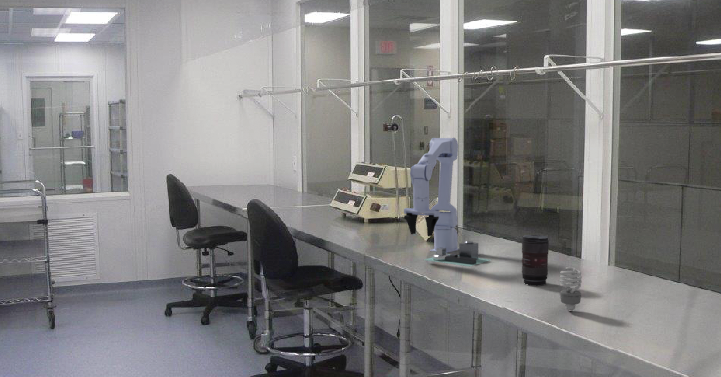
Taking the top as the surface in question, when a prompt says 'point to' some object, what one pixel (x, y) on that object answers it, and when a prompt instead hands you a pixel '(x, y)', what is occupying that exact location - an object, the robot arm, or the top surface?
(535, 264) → the camera lens
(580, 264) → the top surface
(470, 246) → the socket
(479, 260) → the mat
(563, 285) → the light bulb
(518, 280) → the top surface
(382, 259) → the top surface
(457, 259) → the metal vise
